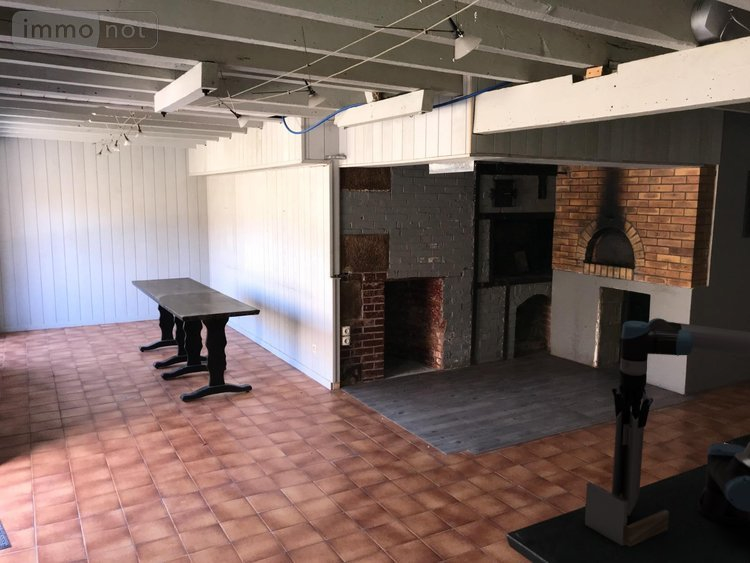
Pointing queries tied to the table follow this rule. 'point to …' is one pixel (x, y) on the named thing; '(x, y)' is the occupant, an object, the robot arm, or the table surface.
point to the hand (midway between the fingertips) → (629, 445)
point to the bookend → (606, 513)
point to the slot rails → (646, 527)
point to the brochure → (628, 462)
